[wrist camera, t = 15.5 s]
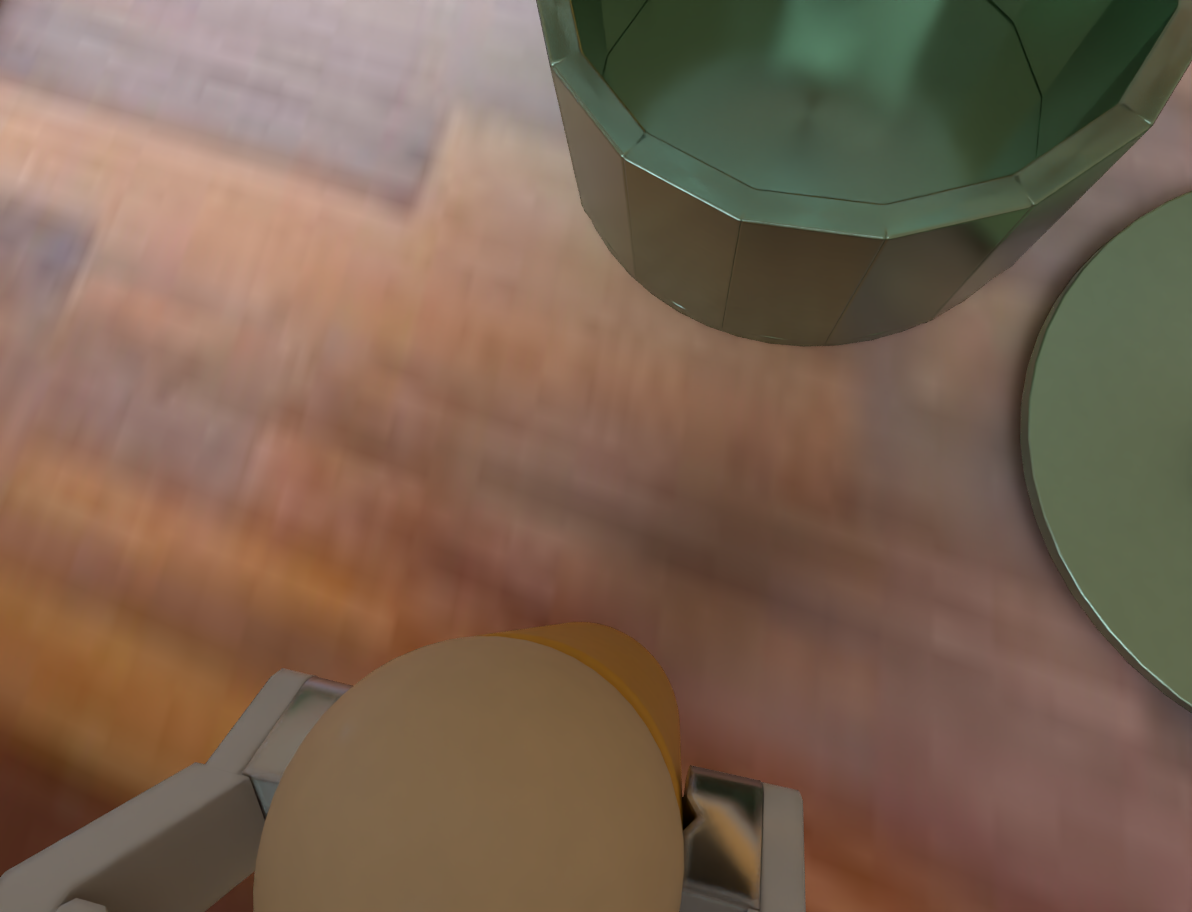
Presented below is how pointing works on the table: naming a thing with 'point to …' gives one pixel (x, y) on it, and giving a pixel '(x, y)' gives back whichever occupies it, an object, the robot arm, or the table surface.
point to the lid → (1121, 442)
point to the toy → (487, 784)
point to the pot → (846, 144)
